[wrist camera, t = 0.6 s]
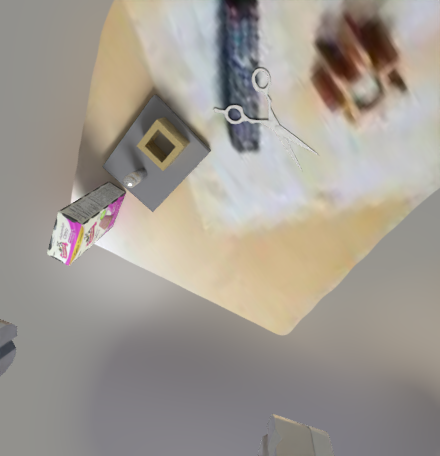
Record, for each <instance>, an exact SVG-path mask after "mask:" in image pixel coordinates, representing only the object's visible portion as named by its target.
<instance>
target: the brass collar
mask: <svg viewBox="0 0 440 456" xmlns="http://www.w3.org/2000/svg"><path fill="white" fill-rule="evenodd" d="M160 133H162V134H164V135H165V136H166V137H167V138H168V139H169V140H170V141H171V142H172V143H173V144H174V145H175V146H176V147H175V148H174V149H173V151H172V152H171V153H170V154H169V155H168V156H167V155H166V154H165V153H164V152H163V151H162V150H161V149H160V148H159V147H158V146H157V145H156V144H155V143H154V140H155V139H156V138H157V137H158V135H159V134H160ZM189 144H190V142H189V141H188V140H187V139H186V138H185V137H184V136H183V135H182V134H181V133H180V131H179V130H178V129H177V128H176V127H175V126H174V125H173V124H172V123H171V122H170V121H169V120H168V119H167V118H166V117H163V118H160V119H157V120H156V121H155V122H154V124H153V125H152V126H151V128H150V129H149V130H148V132H147V133H146V134H145V136H144V137H143V138H142V139H141V141H140V142H139V143H138V145H137V147H138V148H139V149H140V150H141V151H142V152H144V153H145V154H146V155H147V156H148V157H149V158H150V159H151V160H152V161H153V162H154V163H155V164H156V165H157V166H158V167H159V168H160V169H161V170H162V171H164V170H165V169H166V168H168V167H169V166H170V165H171V164H172V163H173V162H174V161H175V160H176V158H177V157H178V156H179V155H180V154H181V153H182V152H183V150H184V149H185V148H186V147H187V146H188V145H189Z"/></svg>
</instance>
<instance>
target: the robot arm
mask: <svg viewBox="0 0 440 456" xmlns="http://www.w3.org/2000/svg"><path fill="white" fill-rule="evenodd" d="M16 336H17V326H15V325H14V324H12V323H9V322H6V321H4V320H1V319H0V376H1V375H2V374H3V373H4V372H5V371H6V370H7V369H8V367H9V366H10V365H11V364H12V362H13V359H14V357H15V354H16V347H15V345H14V343H13V341H12V340H13V339H14V338H15V337H16ZM258 456H334V453H333V449H332V445H331V441H330V437H329V435H328V434H327V432H325V431H322V430H319V429H316V428H313V427H310V426H306V425H304V424H301V423H298V422H295V421H292V420H289V419H286V418H283V417H280V416H277V415H274V414H272V416H271V417H270V419H269V422H268V434H266V435H265V436H263V438H262V441H261V444H260V448H259V453H258Z"/></svg>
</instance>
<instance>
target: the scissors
mask: <svg viewBox="0 0 440 456" xmlns="http://www.w3.org/2000/svg"><path fill="white" fill-rule="evenodd" d="M260 71H263V72H265V73H266V75H267V76H268V85H267V87H266V88H264V89H261V88H259V87H258V85H257V84H256V82H255V75H256V74H257V73H258V72H260ZM252 83H253V86H254V88H255V90H256V91H259V92H263V93H264V95H265V97H266V98H267V101H268V119H269V120H252V119H249V118H248V117H247V116H246V115H244V112H243V108H242V107H240V106H238V105H232V106H229V107H228V108H227V109H226V110H219V109H216V108H215V109H214V112H215V113H216V112H219V113H223V114H225V117H226V119H227V120H228V121H229V122H230V123H232V124H238V123H241V122H242V121H249V122H251V123H252V124H253V123H256V122H258V123H262V124H263V125H265V126H266V127H268V128H270V129H271V130H273V131H274V132H275V133H276V135H277V136H278V138H279V139H280V141H281V142H282V144H283V146H284V147H285V148H286V150H287V151H288V153H289V154H290V155H291V157H292V158H293V160H294V161H295V162H296V164H297V165H298V167H299V168H300V169H301V167H300V165H299V163H298V161H297V159H296V157H295V155H294V153H293V151H292V149H291V147H290V145H289V142H288V140H287V139H289V140H291V141H293V142H294V143H296V144H298V145H300V146H302V147H304V148H306V149H308V150H310V151H312V152H314V151H313V150H312V149H310V148H309V147H308V146H307V145H305V144H304V143H303V142H302V141H300V140H299V139H298V138H297V137H295V136H294V135H293V134H291V133H290V132H289V131H287V130H286V129H285V128H283V127H282V126H280V125H279V123H278V121H277V119H276V118H275V116H274V114H273V112H272V110H271V100H270V98H269V97H268V91H269V88H270V84H271V80H270V75H269V73H268V72H267V71H266V70H265V69H261V68H260V69H256V70H255V72H254V73H253V76H252ZM231 108H236V109H238V110H239V111H240V112H241V118H240V120H239V121H233V120H231V119H230V118H229V117H228V111H229V110H230V109H231ZM286 138H287V139H286ZM314 153H315V152H314ZM315 154H317V153H315ZM317 155H318V154H317ZM301 170H302V169H301ZM302 172H303V171H302Z"/></svg>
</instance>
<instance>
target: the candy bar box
mask: <svg viewBox="0 0 440 456" xmlns="http://www.w3.org/2000/svg"><path fill="white" fill-rule="evenodd" d="M125 194H126V192H125V191H123V190H122V189H120V188H118V187H116V186H115V185H113V184H111V183H110V182H107V183H105V184H104V185H102V186H100V187H99V188H97V189H95V190H94V191H92V192H90V193H88V194H87V195H85V196H83V197H82V198H80V199H78V200H77V201H75V202H73V203H72V204H70V205H68V206H67V207H65V208H63V209H62V210H60V211H58V215H57V218H56V222H55V226H54V230H53V233H52V237H51V241H50V244H49V248H48V252H47V254H48V255H50V256H52V257H54V258H55V259H57V260H59V261H62V263H64V264H66V265H68V266H69V265H71V264H72V263H73V262H74V261H75V260H76V259H77V258H78V257H79V256H80V255H82V254H83V253H84V252H85V251H86V250H87V249H88V248H89V247H91V246H92V245H93V244H94V243H95V242H96V241H97V240H98V239H99V238H100V237H102V236H103V235H104V234H105V233H106V232H107V231H108V230H109V229H111V228H112V227H113V224H114V221H115V219H116V216H117V214H118V211H119V209H120V206H121V204H122V201H123V199H124V196H125Z"/></svg>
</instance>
